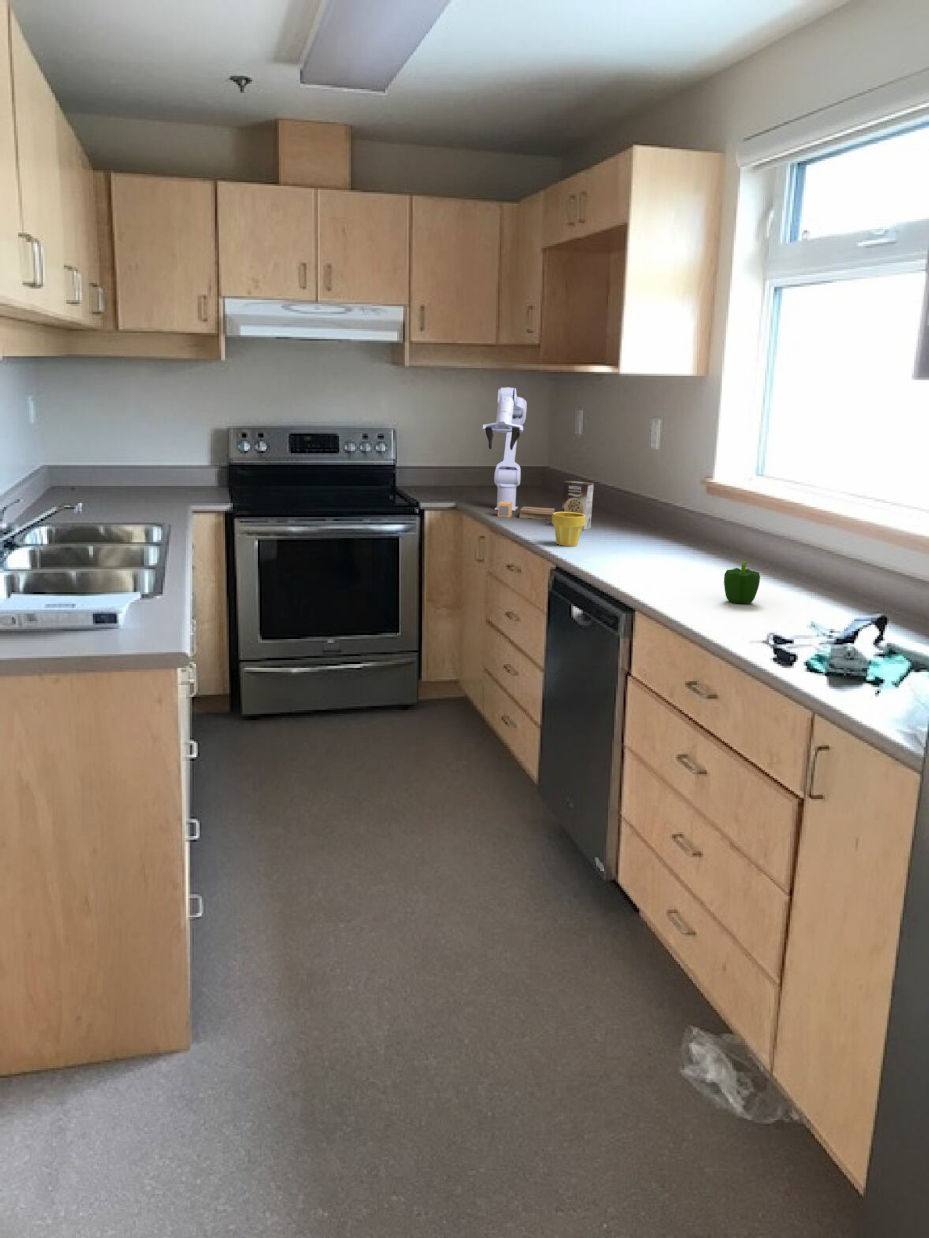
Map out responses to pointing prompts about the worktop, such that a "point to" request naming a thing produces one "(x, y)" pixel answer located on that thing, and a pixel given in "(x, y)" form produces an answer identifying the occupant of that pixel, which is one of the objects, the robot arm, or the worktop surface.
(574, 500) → the brown cookie box
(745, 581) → the bell pepper
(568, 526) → the plant pot
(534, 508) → the stand
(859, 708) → the worktop surface
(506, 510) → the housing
